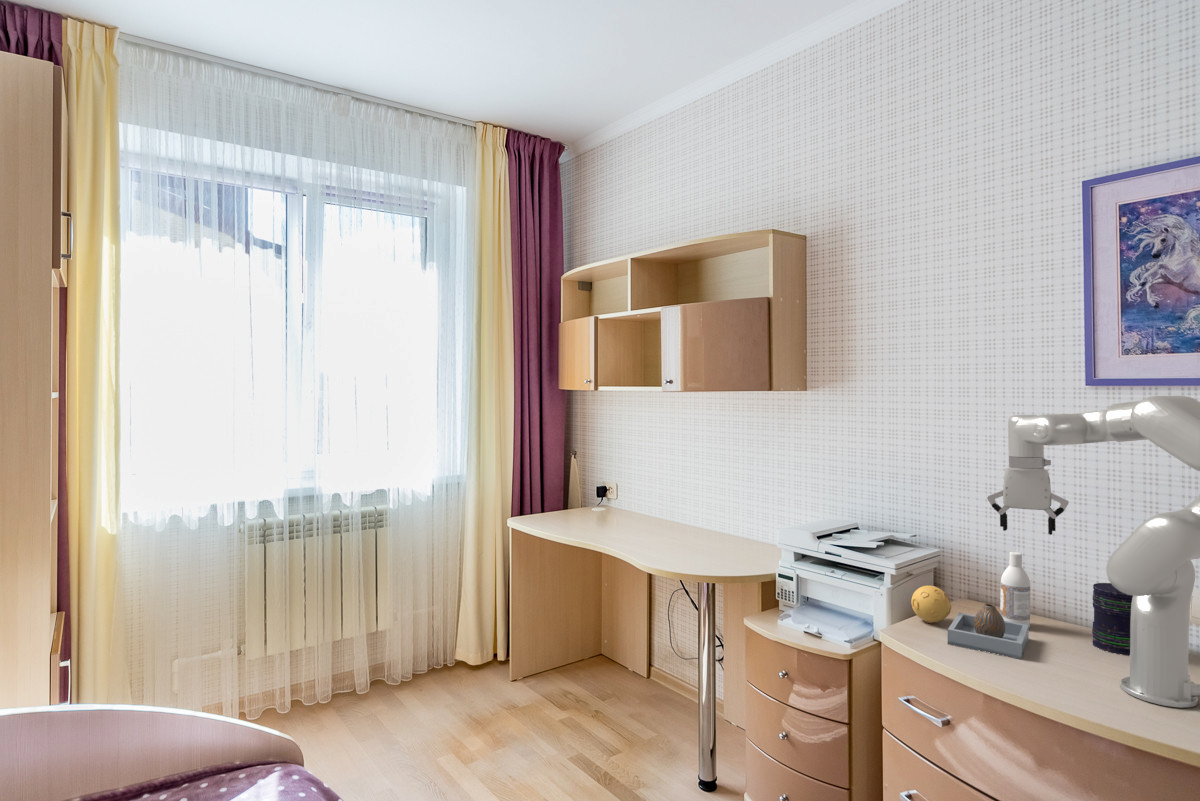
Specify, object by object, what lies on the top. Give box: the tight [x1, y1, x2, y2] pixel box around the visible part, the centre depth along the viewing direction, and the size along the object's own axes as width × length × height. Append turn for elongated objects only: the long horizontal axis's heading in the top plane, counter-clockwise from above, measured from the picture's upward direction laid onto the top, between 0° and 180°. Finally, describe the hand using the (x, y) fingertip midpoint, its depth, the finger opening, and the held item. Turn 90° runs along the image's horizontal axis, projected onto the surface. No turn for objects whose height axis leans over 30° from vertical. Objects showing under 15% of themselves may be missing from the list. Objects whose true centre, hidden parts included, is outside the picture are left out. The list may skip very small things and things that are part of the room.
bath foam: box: [999, 551, 1031, 628], centre depth 183 cm, size 7×7×20 cm
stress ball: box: [910, 585, 952, 624], centre depth 186 cm, size 10×10×10 cm
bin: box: [947, 612, 1030, 661], centre depth 172 cm, size 16×16×4 cm
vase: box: [974, 603, 1005, 638], centre depth 171 cm, size 7×7×9 cm
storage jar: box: [1091, 582, 1133, 656], centre depth 168 cm, size 10×10×15 cm
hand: (1027, 531), depth 169 cm, fingers open, 9 cm apart
